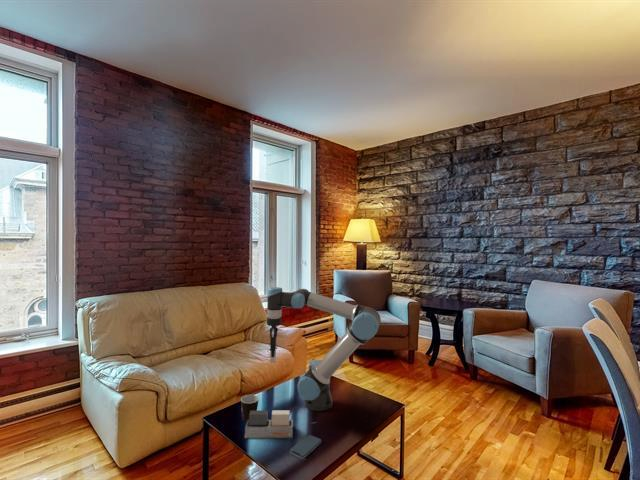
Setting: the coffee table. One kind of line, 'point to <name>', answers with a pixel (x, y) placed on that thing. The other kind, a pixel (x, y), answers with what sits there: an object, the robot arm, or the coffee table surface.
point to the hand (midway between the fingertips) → (272, 362)
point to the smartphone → (305, 446)
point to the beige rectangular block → (280, 417)
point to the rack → (265, 427)
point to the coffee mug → (248, 405)
